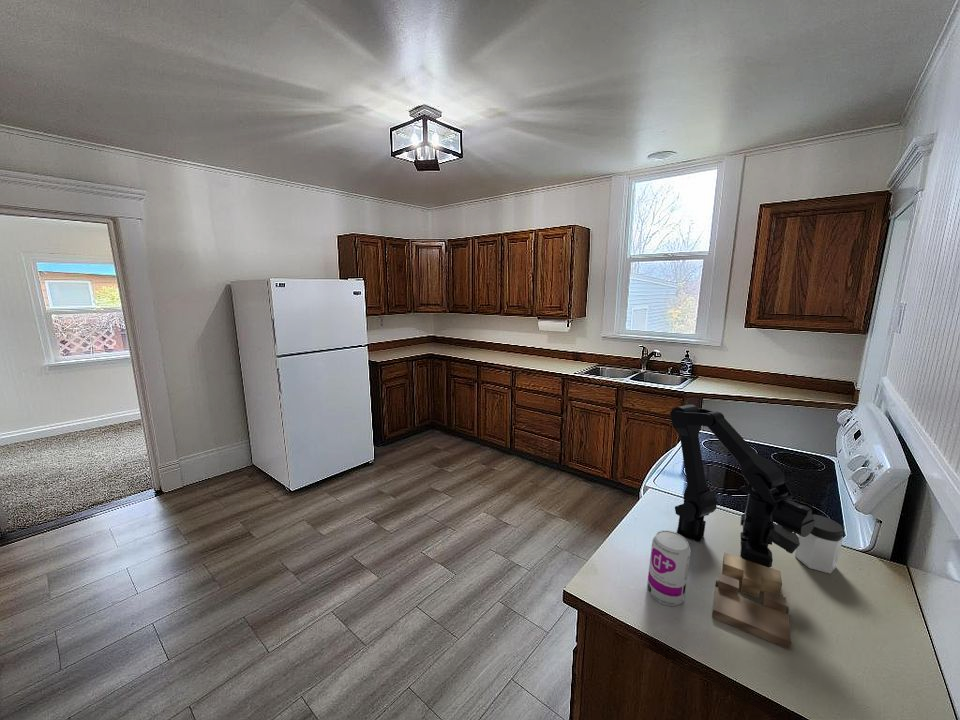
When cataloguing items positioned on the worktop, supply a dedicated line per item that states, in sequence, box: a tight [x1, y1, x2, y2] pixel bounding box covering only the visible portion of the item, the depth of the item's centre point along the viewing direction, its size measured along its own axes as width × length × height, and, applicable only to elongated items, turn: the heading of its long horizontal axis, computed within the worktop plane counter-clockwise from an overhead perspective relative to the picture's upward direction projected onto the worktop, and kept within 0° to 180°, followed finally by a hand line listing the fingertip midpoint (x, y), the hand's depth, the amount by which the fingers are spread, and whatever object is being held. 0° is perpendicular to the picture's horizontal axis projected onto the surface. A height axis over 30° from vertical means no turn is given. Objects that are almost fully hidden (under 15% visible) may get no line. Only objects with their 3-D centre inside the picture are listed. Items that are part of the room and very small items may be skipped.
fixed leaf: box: [711, 573, 792, 650], centre depth 89 cm, size 14×11×4 cm
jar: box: [794, 513, 845, 574], centre depth 105 cm, size 9×8×12 cm
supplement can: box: [646, 530, 692, 607], centre depth 93 cm, size 8×8×15 cm
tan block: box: [721, 552, 783, 599], centre depth 98 cm, size 12×8×4 cm, turn 57°
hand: (750, 566), depth 102 cm, fingers closed
